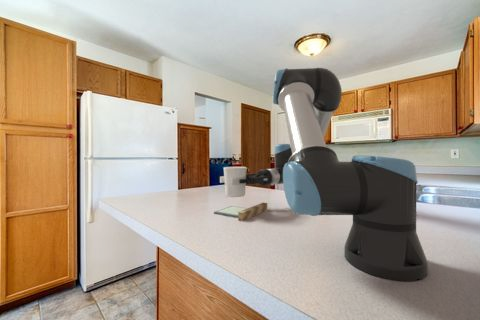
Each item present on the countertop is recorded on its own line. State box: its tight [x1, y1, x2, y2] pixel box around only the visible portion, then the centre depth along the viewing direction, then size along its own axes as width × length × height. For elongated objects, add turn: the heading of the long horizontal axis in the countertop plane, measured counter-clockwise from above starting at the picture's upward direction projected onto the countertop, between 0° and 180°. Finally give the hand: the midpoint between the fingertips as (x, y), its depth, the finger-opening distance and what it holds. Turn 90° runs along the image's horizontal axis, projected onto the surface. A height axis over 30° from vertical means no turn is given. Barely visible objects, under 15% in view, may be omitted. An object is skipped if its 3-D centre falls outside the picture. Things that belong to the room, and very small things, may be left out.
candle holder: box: [222, 166, 248, 198], centre depth 93 cm, size 10×10×12 cm
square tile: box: [213, 205, 249, 219], centre depth 93 cm, size 13×13×1 cm
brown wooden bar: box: [237, 202, 268, 222], centre depth 89 cm, size 20×2×3 cm, turn 146°
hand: (225, 180), depth 91 cm, fingers closed on candle holder, 9 cm apart
